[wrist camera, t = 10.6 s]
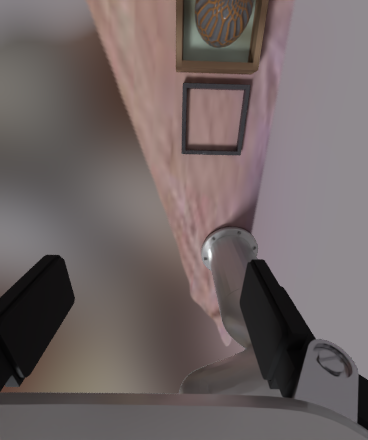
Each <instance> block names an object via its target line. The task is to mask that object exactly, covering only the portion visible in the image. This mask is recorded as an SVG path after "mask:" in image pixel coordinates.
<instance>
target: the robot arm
mask: <svg viewBox="0 0 368 440" xmlns="http://www.w3.org/2000/svg"><path fill="white" fill-rule="evenodd" d="M257 252H258V246H257V243H256V240H255V239H254V237H253V236H252V235H251V234H250V233H249V232H248V231H246V230H244V229H242V228H238V227H225V228H222V229H219V230H217V231H215V232H213V233H212V234H210V235H209V236H208V237H207V238H206V240H205V241H204V243H203V245H202V249H201V256H202V261H203V263H204V264H205V266H206V267H207V268H208V269H209V270H211V271H212V275H213V280H214V285H215V290H216V295H217V300H218V305H219V309H220V314H221V318H222V322H223V325H224V327H225V329H226V331H227V332H228V334H229V335H230V336H231V337H232V338H233V339H234V340H235V341H236V342H237V343H239V344H240V345H241V346H243V347H244V348H245V350H244V351H242V352H240V353H237V354H235V355H234V356H231V357H228V358H225V359H223V360H220V361H217V362H215V363H212V364H209V365H207V366H204V367H202V368H199V369H197V370H195V371H193V372H192V373H190V374H189V375H188V376H187V377H186V378H185V379H184V381H183V383H182V385H181V387H180V391H179V394H158V393H156V394H155V393H153V394H152V393H0V440H368V380H367V379H366V378H364V377H362V376H361V375H359V374H358V369H357V367H356V365H355V363H354V361H353V360H352V358H351V357H350V356H349V355H348V354H347V353H346V352H345V351H344V350H343V349H341V348H340V347H339V346H337V345H335V344H334V343H332V342H329V341H327V340H322V339H315V337H314V335H313V334H312V332H311V331H310V329H309V327H308V326H307V325H306V323H305V321H304V319H303V318H302V316H301V314H300V313H299V311H298V310H297V308H296V306H295V305H294V303H293V302H292V300H291V299H290V297H289V295H288V294H287V292H286V291H285V289H284V288H283V287H281V286H280V285H279V284H278V282H277V280H276V279H275V277H274V275H273V274H272V272H271V270H270V269H269V267H268V265H267V264H266V262H265V261H264V260H259V259H257V257H256V256H257ZM74 299H75V297H74V293H73V290H72V286H71V282H70V279H69V275H68V272H67V268H66V265H65V261H64V259H63V258H61V257H60V256H59V255H46V256H44V257H43V258H42V259H41V260H40V261H39V262H37V263H36V264H35V265H34V266H33V267H32V268H31V269H30V270H29V271H28V272H27V273H26V274H25V275H24V276H23V277H21V278H20V279H19V280H18V281H17V282H16V283H15V284H14V285H13V286H12V287H11V288H10V289H9V290H8V291H7V292H6V293H5V294H4V295H3V296H1V298H0V391H1V390H2V388H3V387H4V385H5V386H6V387H19V386H20V385H21V383H22V382H23V380H24V379H25V377H28V376H29V375H30V374H31V372H32V371H33V369H34V368H35V366H36V364H37V363H38V361H39V359H40V358H41V356H42V354H43V353H44V351H45V350H46V348H47V346H48V345H49V343H50V341H51V339H52V338H53V337H54V335H55V333H56V332H57V330H58V328H59V327H60V325H61V323H62V322H63V320H64V319H65V317H66V315H67V314H68V312H69V310H70V309H71V307H72V306H73V304H74Z"/></svg>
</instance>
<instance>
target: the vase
mask: <svg viewBox="0 0 368 440" xmlns="http://www.w3.org/2000/svg"><path fill="white" fill-rule="evenodd" d="M252 8H253V0H196V1H195V23H196V27H197V30H198V32H199V34H200V36H201V38H202V39H203V40H204V41H205V42H206V43H207V44H208V45H210V46H212V47H215V48H222V47H226V46H228V45H230V44H232V43H233V42H235V41H236V40H237V39H238V38H239V37H240V35H241V34H242V33H243V31H244V30H245V28H246V26H247V24H248V22H249V19H250V16H251V13H252Z"/></svg>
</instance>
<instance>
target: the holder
mask: <svg viewBox="0 0 368 440" xmlns="http://www.w3.org/2000/svg"><path fill="white" fill-rule="evenodd" d="M195 1H196V0H176V72H192V73H223V74H253V73H254V72H256V71H257V70H258V67H259V60H260V54H261V47H262V41H263V34H264V28H265V21H266V15H267V8H268V2H269V0H253V8H252V13H251V16H250V19H249V22H248V24H247V26H246V28H245V30H244V31H243V33H242V34H241V35H240V37H239V38H238V39H237V40H236V41H235V42H233V43H232V44H230V45H228V46H226V47H222V48H215V47H212V46H210V45H208V44H207V43H206V42H205V41H204V40H203V39H202V38H201V36H200V34H199V32H198V30H197V27H196V23H195Z"/></svg>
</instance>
